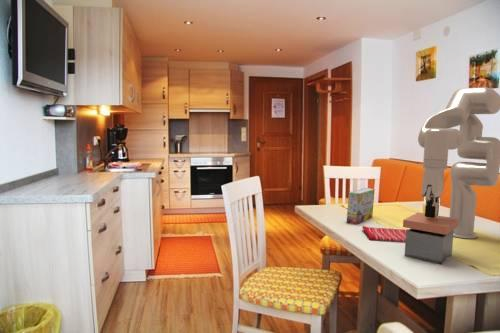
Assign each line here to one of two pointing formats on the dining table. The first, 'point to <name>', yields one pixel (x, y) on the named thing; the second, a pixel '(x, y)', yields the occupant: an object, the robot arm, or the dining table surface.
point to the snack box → (360, 205)
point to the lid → (431, 223)
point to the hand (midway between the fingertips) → (431, 215)
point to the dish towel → (385, 234)
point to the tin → (428, 245)
